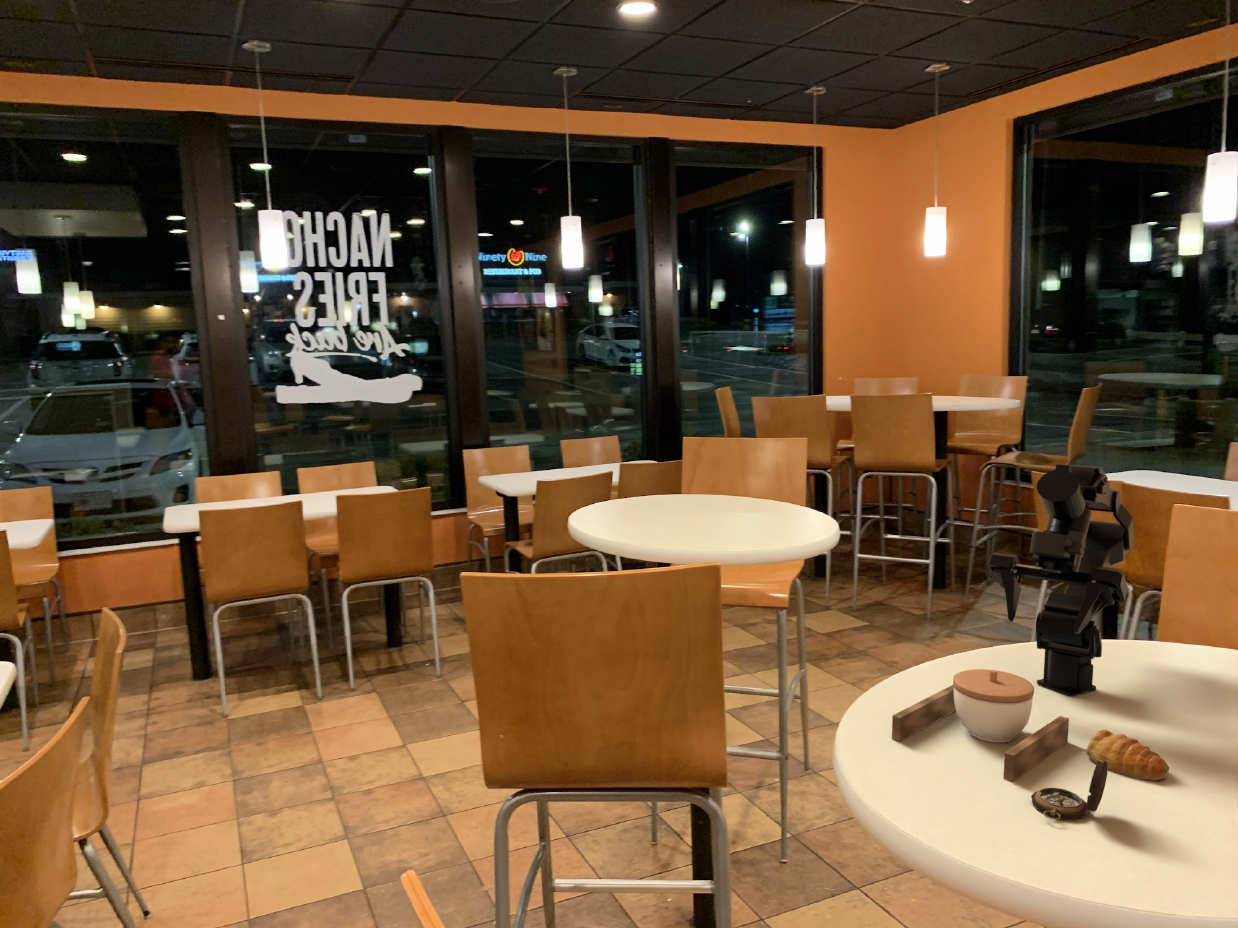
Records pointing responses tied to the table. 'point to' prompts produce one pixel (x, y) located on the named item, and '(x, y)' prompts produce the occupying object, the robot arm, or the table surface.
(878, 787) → the table surface
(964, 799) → the table surface
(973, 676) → the lidded jar
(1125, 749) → the pastry
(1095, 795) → the compass
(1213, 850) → the table surface
